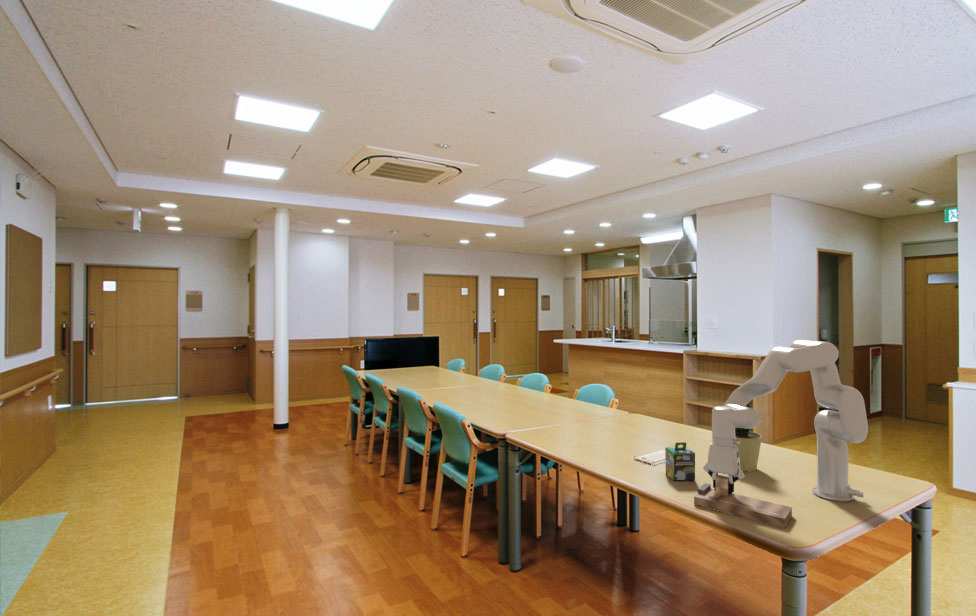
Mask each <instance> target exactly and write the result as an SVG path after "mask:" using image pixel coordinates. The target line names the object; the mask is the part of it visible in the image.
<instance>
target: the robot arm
mask: <svg viewBox="0 0 976 616" xmlns="http://www.w3.org/2000/svg"><path fill="white" fill-rule="evenodd" d="M836 346H837V345H835V344H833V343H832V342H828V341H824V340H823V341H822V340H812V339H811V340H810V339H797V340H795V341H793V342H791V344H790V347H789V346H788V347H787V346H775V347H773V348H771V349H770V350H769V351H768V353H767V355H765V358H764V359H763V361H761V364H760V366H758V368H757V370H756V371H755V372H754V374H753V376H752V377H751V378H750V379H749V380H747V381H745V382H744V383H742V384H741V385H740V386H738V387H737V388H735V389H734V390H733V391H732V392H731V394H730V395H729V397H728V398H727V399H726V401H725V403H724V405H723V406H714V407H713V408H712V409H711V442H710V443H709V447H708V454H707V455H708V456H707V462H706V464H705V465H704V466H703V468H702V469H703V470H704V472H706V473H707V474H708V475H709V476H710V477H711V479H712V487H713V488H712V489H714V491H716V477H717V476H718V475H719V474H723V475H727V476H729V483H728V494H729V495H731V494H732V493H734V492H735V483H736V482H738V481H739V480H741V479H743V478H745V477H746V475H745V472H742V470H741V468H740V458H739V451H738V447H737V446H735V445H736V444H739V443H740V442H739V441H738V440H736V438H735V428H745V429H749V430H751V429H755V428H756V427H758V426H759V424H760V423H761V416H760V414H759V412H757V410H755V408H753V407H751V408H749V407H746V405H747V404H749V403H750V402H751V401H752V400H754V399H755V398H757V397H760V396H764V395H768V394H772V393H774V392H776V390H778V388H779V386H780V384H781V383H782V381H783V380H784V379H785V376H786V375H787V374H788V372H793V373H804V372H805V373H806V372H808V371H809V372H810V376H811V382H812V386H813V387H812V388H813V394H814V398H815V401H816V403H817V404H818V405H819V406H821V407H823V408H825V409H824V410H823V409H822V410H820V411H818V412H817V413H816V415H815V416H814V420H813V426H814V430H815V433H816V435H815V436H816V445H817V446H816V447H817V449H816V450H817V451H816V452H817V458H816V460H817V461H816V462H817V463H816V465H817V466H816V467H817V469H816V472H817V477H816V481H817V482H816V484H817V485H816V486H814V487H812V489H811V490H812V491H811V492H812V493H813V494H814V495H816V496H818V497H819V498H823V499H826V500H830V501H835V502H851V500H852V501H853V500H854V497H855V496H856V497H859V498H864V491H860V489H854V488H852V487H851V484H850V483H849V448H848V447H849V446H848V443H853V444H859V443H862V442H863V441H865V440H866V439H867V436H868V434H869V424H868V423H869V422H868V418H867V417H868V416H867V411H866V404H865V403H866V402H865V399H864V397H863V395H862V393H861V392H860V391H859V390H858V389H857V388H855V387H853V386H850V385H845V384H842V382H841V380H840V374H839V370H838V367H837V364H836V361H837V360H838V358H839V354H840V351H839V349H838V347H836ZM826 408H827V409H826ZM847 442H848V443H847Z"/></svg>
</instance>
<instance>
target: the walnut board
mask: <svg viewBox="0 0 976 616" xmlns="http://www.w3.org/2000/svg"><path fill="white" fill-rule="evenodd" d="M711 485H712V484H711V483H706V482H704V483H703V484H702V485H701V486H700V487H698V488H697V494H696V493H695V495H694V496H693V502H694V503H693V505H694V504H696V505H695V506H697V505H700V506H699V507H701V506H704V507H708V508H711V509H710V510H712V509H715V510H714V511H716V510H719V511H718V512H720V511H722V512H721V513H724V512H726V513H725V514H728V513H729V514H728V515H731V514H733V515H732V516H735V515H736V517H739V516H740V517H739V518H743V517H744V519H747V518H748V520H752V521H755V522H760V523H763V524H766V525H767V524H768V525H770V526H775V527H778V528H781V529H785V528H786V527H787V525H788V524H789V522H790V520H791V519H792V517H793V507H792V506H788V505H783V504H780V503H775V502H770V501H767V500H762V499H757V498H754V497H749V496H744V495H741V494H737V493H734V492H732V494H731V495H729V496H728V497H726V496H722V495H720V496H719V497H718V500H717V499H716V497H715V496H714V495H715V494H716V491H714V488H712V487H711ZM704 507H703V508H704ZM708 508H707V509H708Z"/></svg>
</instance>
